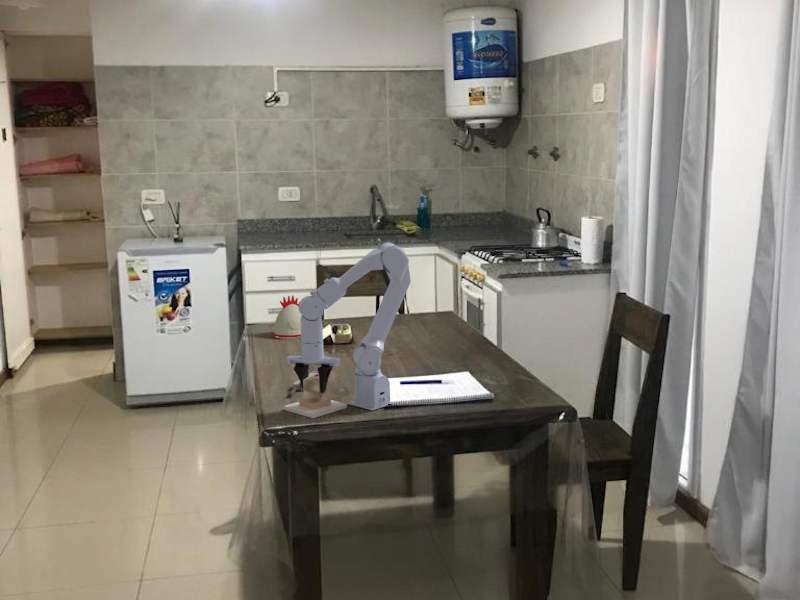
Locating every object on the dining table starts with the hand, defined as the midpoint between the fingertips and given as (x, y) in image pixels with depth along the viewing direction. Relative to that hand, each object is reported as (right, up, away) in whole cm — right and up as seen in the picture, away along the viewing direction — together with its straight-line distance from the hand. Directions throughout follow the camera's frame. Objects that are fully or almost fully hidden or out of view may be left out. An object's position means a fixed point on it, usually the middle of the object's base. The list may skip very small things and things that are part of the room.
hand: (314, 391), depth 248 cm
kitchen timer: (-17, +11, +95) cm, 98 cm away
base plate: (0, -5, +1) cm, 5 cm away
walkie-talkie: (-4, -2, +22) cm, 22 cm away
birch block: (0, -1, 0) cm, 1 cm away
